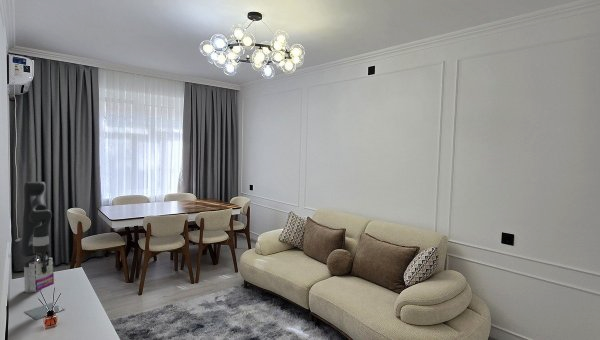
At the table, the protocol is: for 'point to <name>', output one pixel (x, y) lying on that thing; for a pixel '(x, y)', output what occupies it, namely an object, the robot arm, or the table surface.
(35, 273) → the candy bar box
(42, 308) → the mat
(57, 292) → the table surface
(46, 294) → the table surface
